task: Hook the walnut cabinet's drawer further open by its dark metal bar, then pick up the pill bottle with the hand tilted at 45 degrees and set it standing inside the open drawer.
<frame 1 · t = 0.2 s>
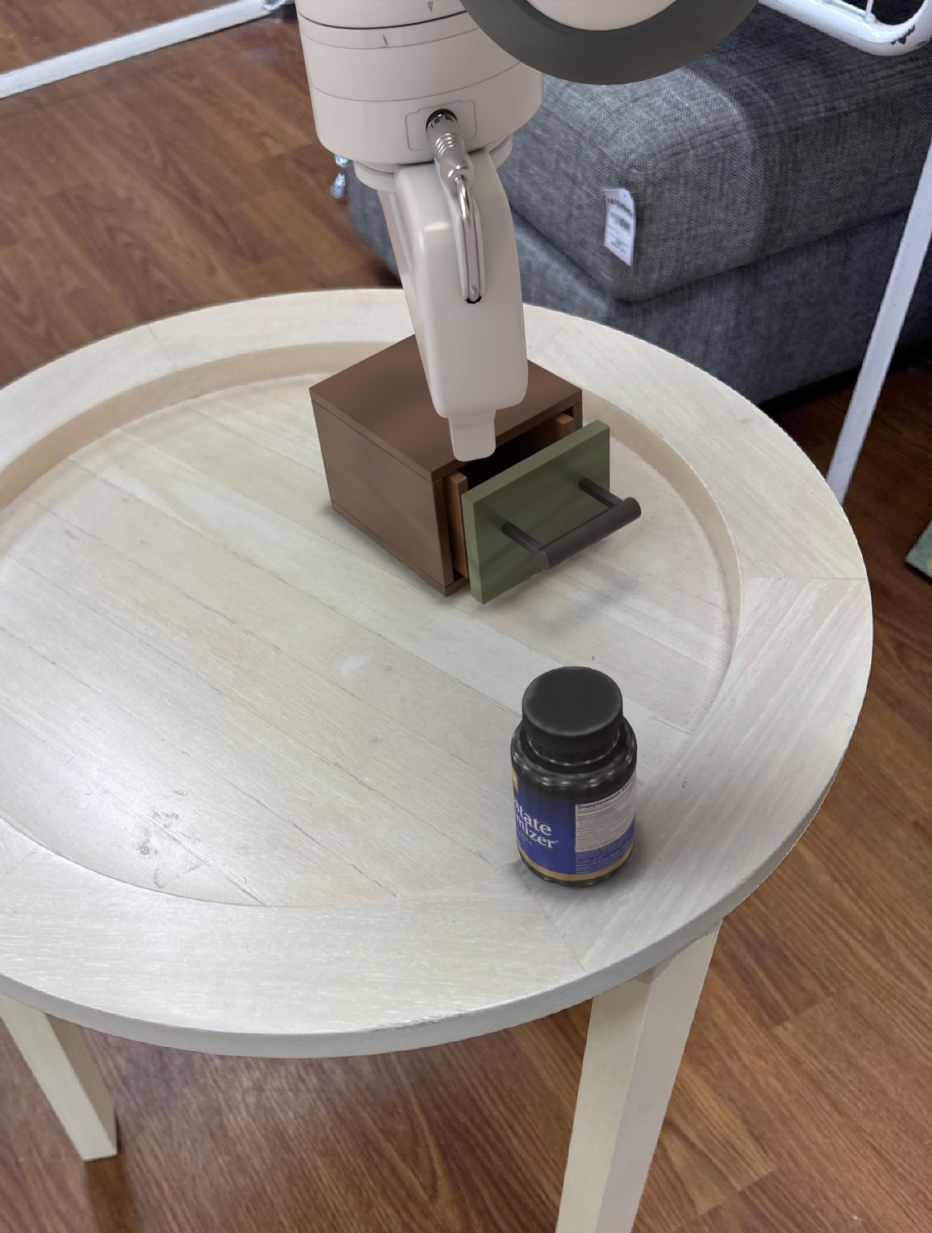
hand: (456, 393, 59), 22 cm above the table, tool pointing down, fingers open, 8 cm apart
drawer: (505, 491, 82), point 5 cm above the table, slide at 2.0 cm
pill bottle: (576, 848, 69), on the table
cabinet: (454, 512, 90), on the table
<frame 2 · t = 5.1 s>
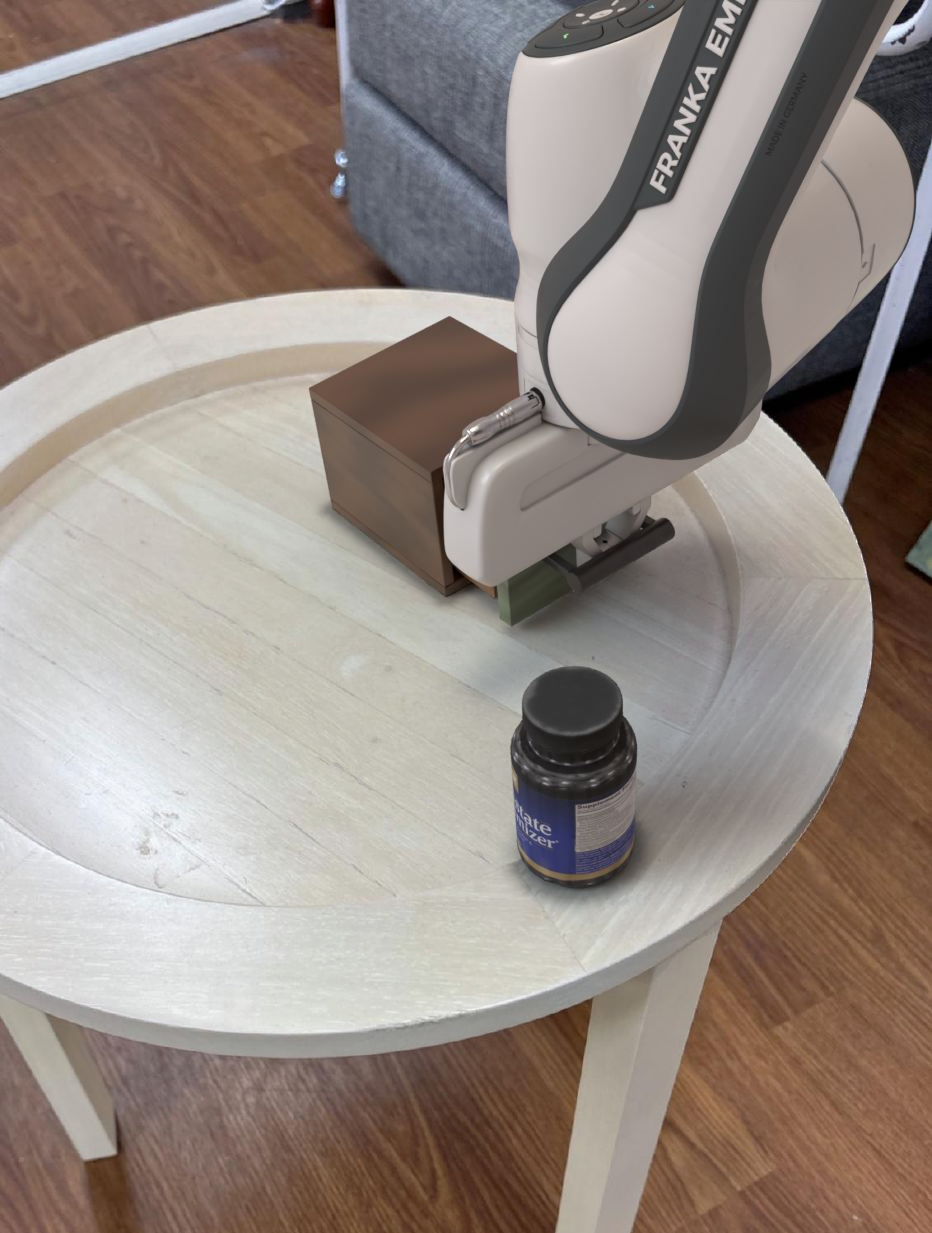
hand: (605, 565, 77), 4 cm above the table, tool pointing down, fingers closed, pressing on drawer
drawer: (534, 510, 81), point 5 cm above the table, slide at 4.9 cm, touching gripper
everything else where it was.
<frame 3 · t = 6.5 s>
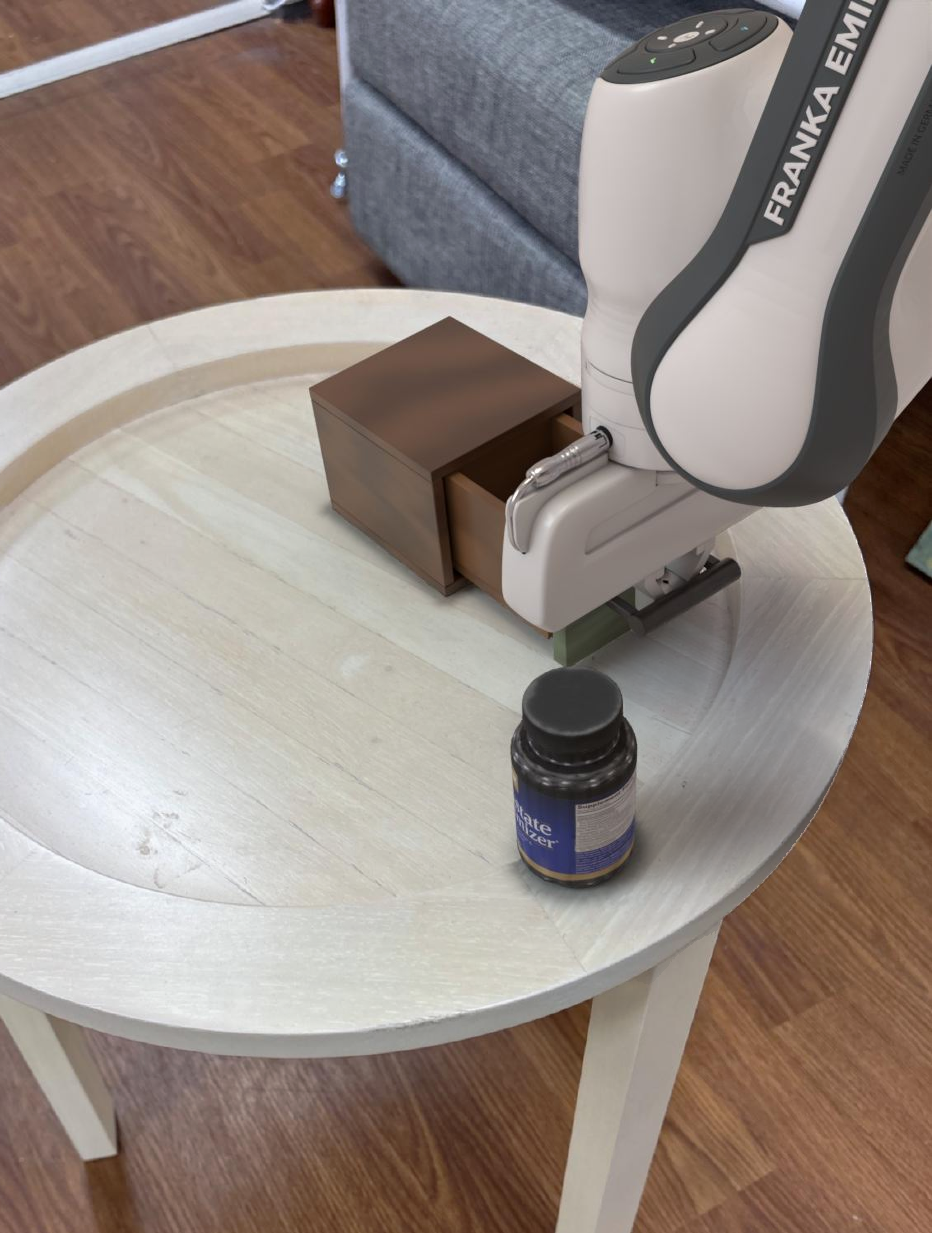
hand: (664, 606, 74), 4 cm above the table, tool pointing down, fingers closed
drawer: (590, 547, 77), point 5 cm above the table, slide at 10.0 cm
everything else where it was.
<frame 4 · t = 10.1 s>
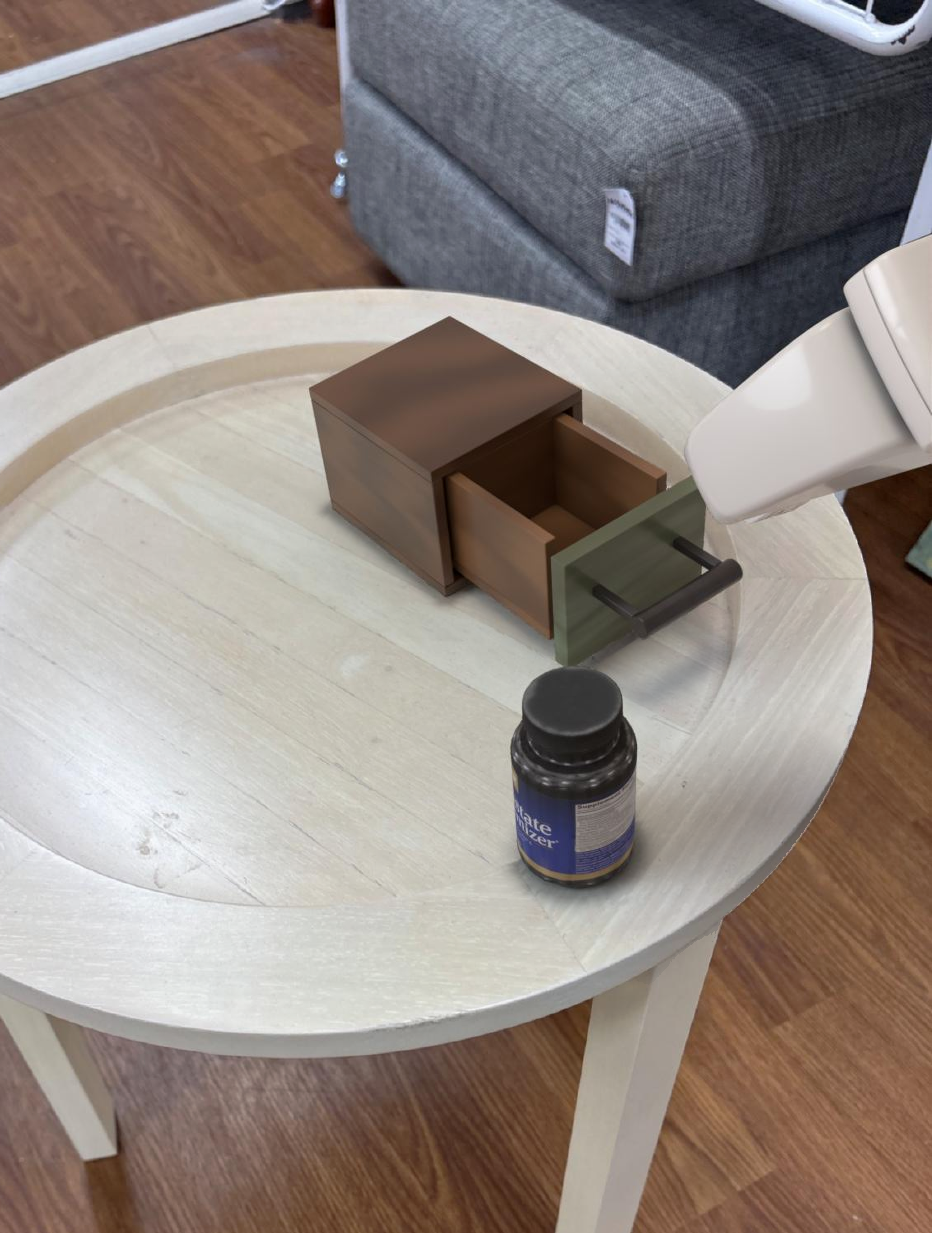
hand: (757, 503, 57), 18 cm above the table, tool tilted 45°, fingers closed
nothing on the table moved.
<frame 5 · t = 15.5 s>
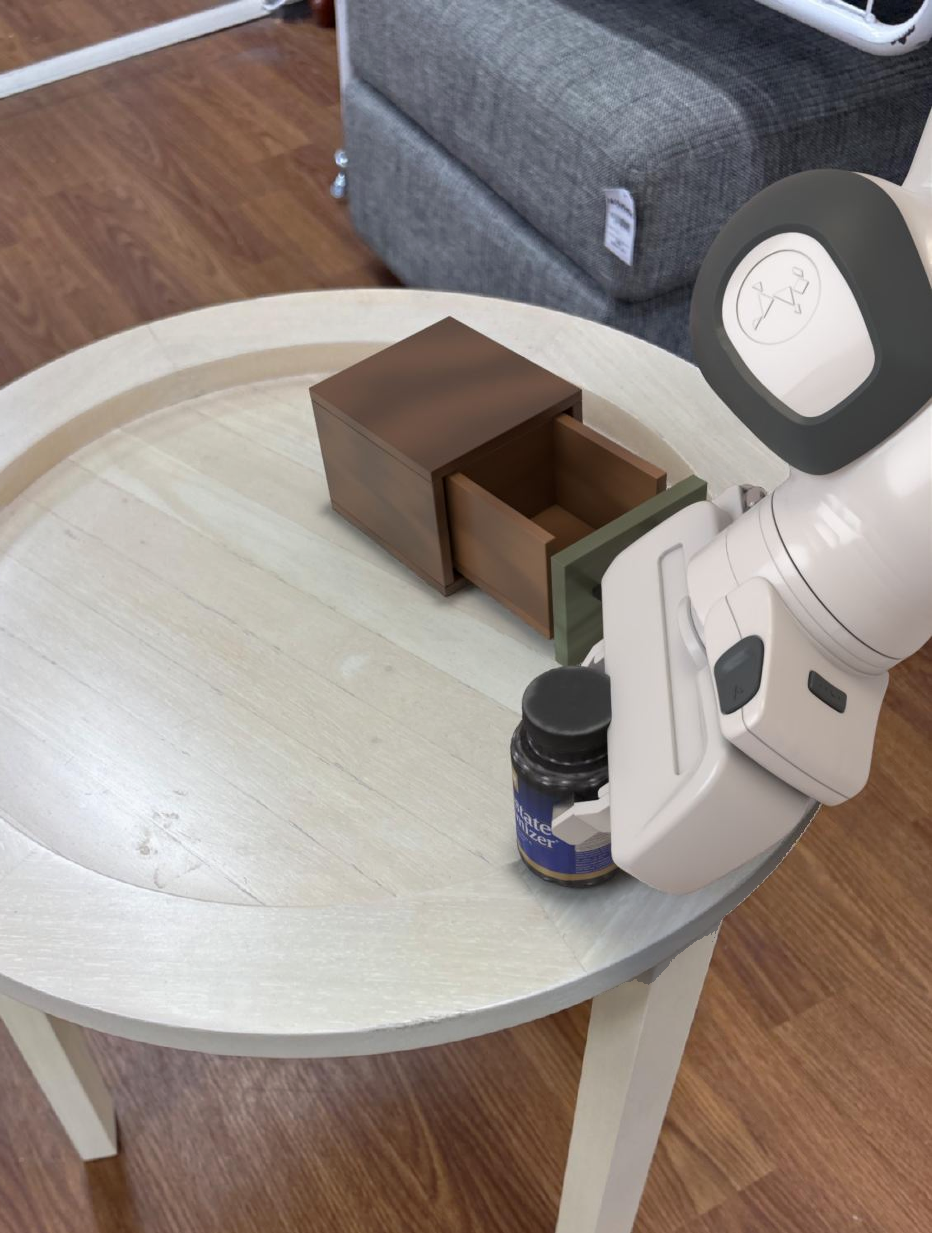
hand: (560, 771, 65), 6 cm above the table, tool tilted 45°, fingers closed on pill bottle, 6 cm apart
pill bottle: (576, 848, 69), on the table, touching gripper
everything else where it was.
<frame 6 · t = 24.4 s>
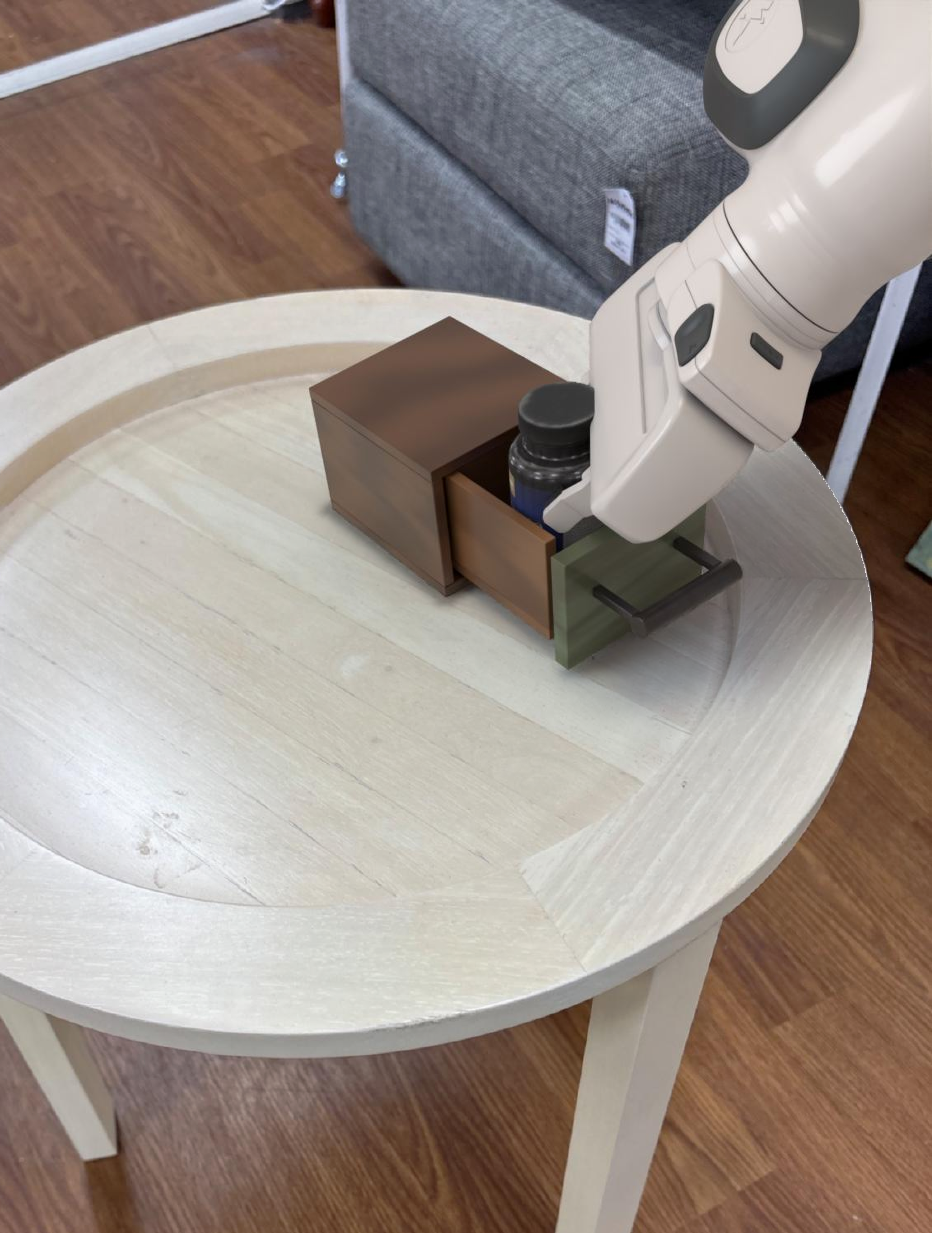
hand: (552, 481, 76), 9 cm above the table, tool tilted 45°, fingers closed on pill bottle, 6 cm apart
pill bottle: (565, 564, 81), point 2 cm above the table, touching gripper
everything else where it was.
when the fingers open (9 cm above the table, at t = 33.8 s): pill bottle drops 1 cm, resting on drawer.
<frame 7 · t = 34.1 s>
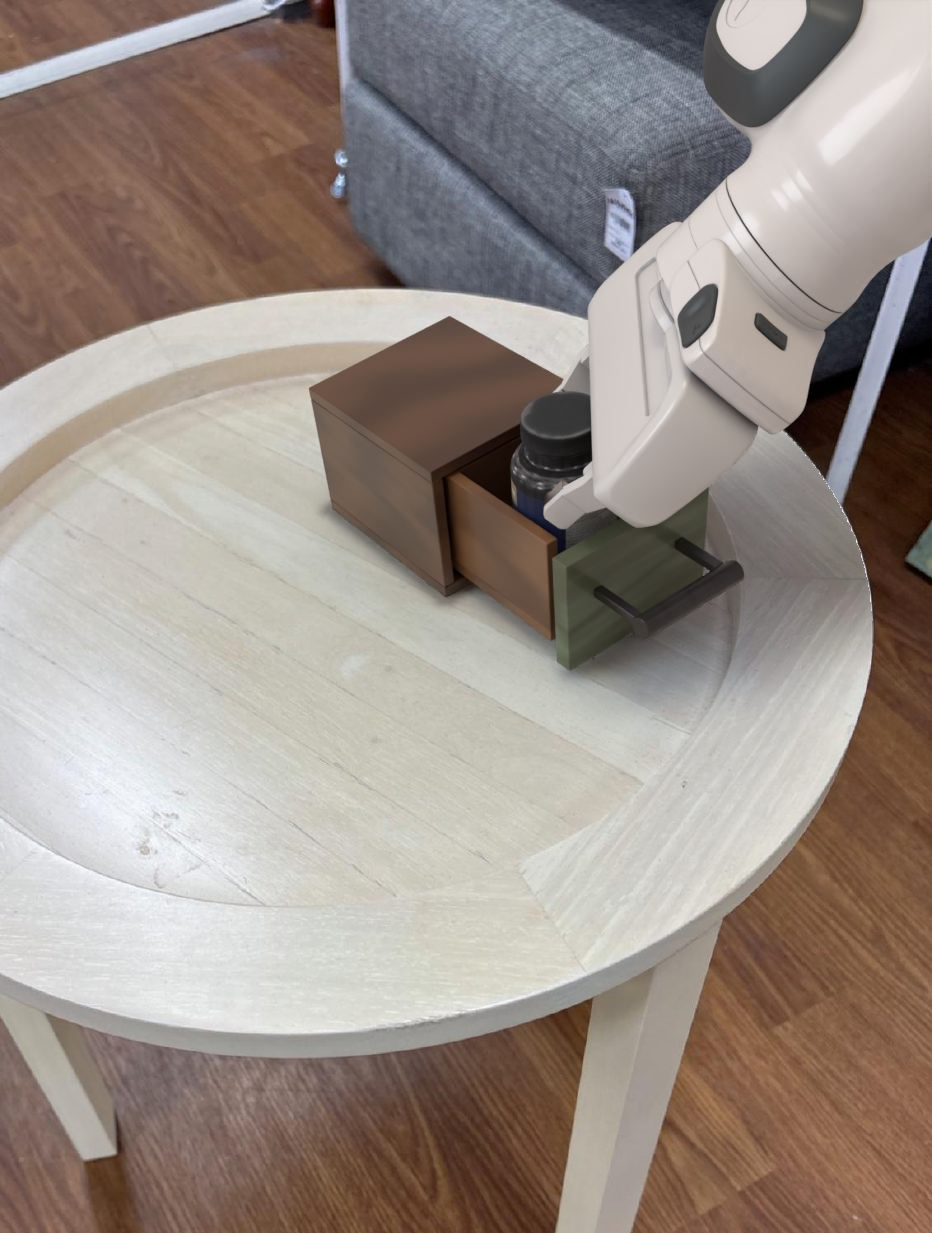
hand: (551, 465, 75), 10 cm above the table, tool tilted 45°, fingers open, 8 cm apart
drawer: (592, 549, 77), point 5 cm above the table, slide at 10.3 cm, touching pill bottle
pill bottle: (566, 571, 81), point 2 cm above the table, touching drawer
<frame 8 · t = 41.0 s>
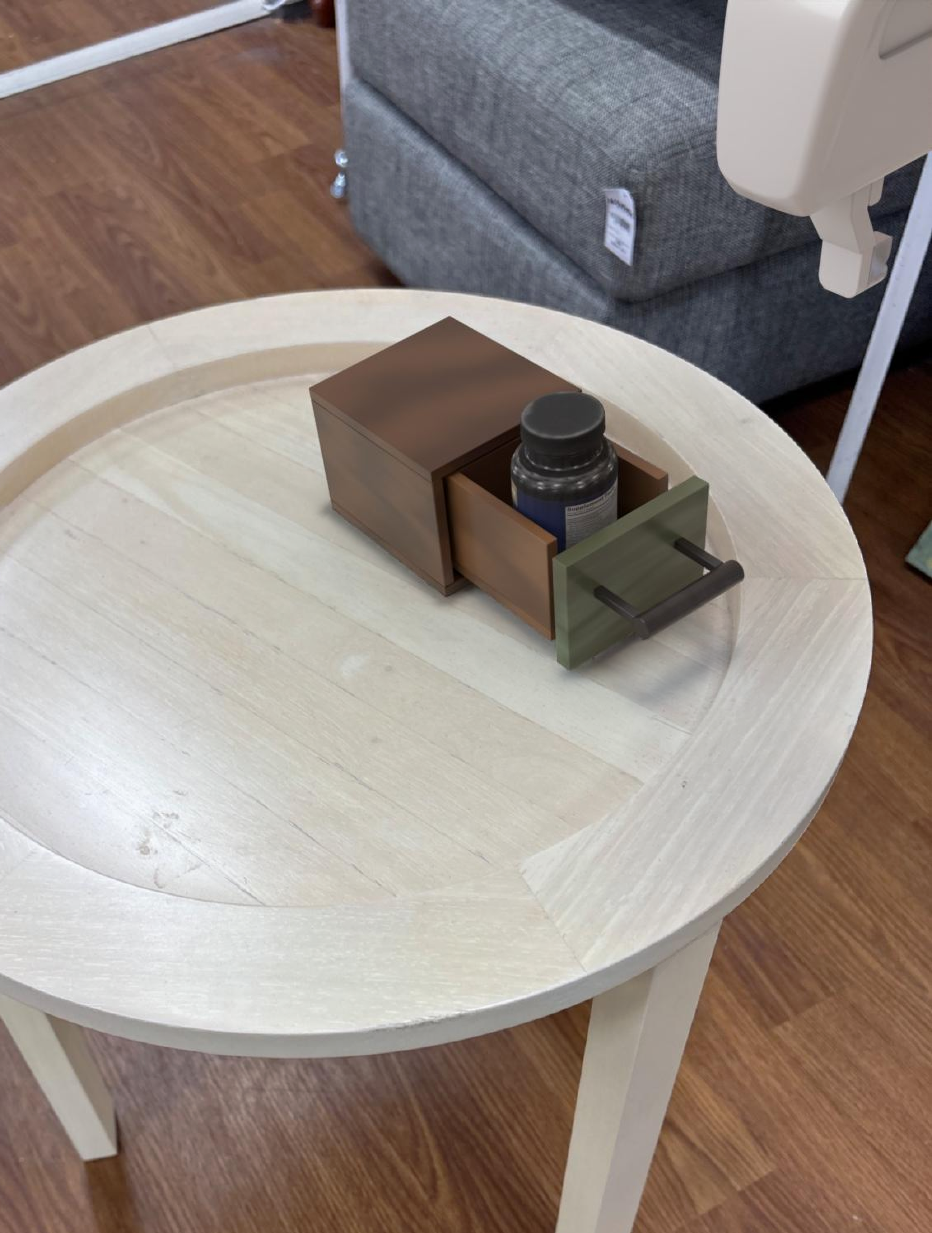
nothing on the table moved.
at the end: drawer slide at 10.3 cm; pill bottle inside the target area in the drawer (0.5 cm from its centre), point 1.8 cm above the cabinet's base; pill bottle tilted 0° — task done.
